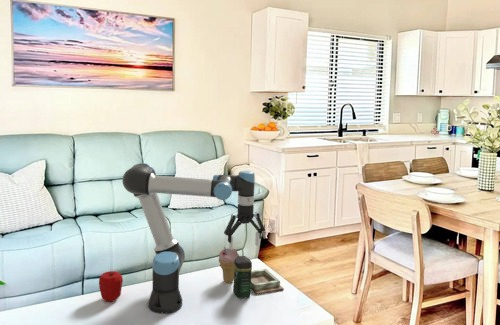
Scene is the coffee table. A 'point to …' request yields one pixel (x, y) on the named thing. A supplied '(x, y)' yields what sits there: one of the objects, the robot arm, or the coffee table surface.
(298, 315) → the coffee table surface
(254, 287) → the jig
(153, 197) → the robot arm
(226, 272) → the ice cream cone
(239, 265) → the coffee jar
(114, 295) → the apple
